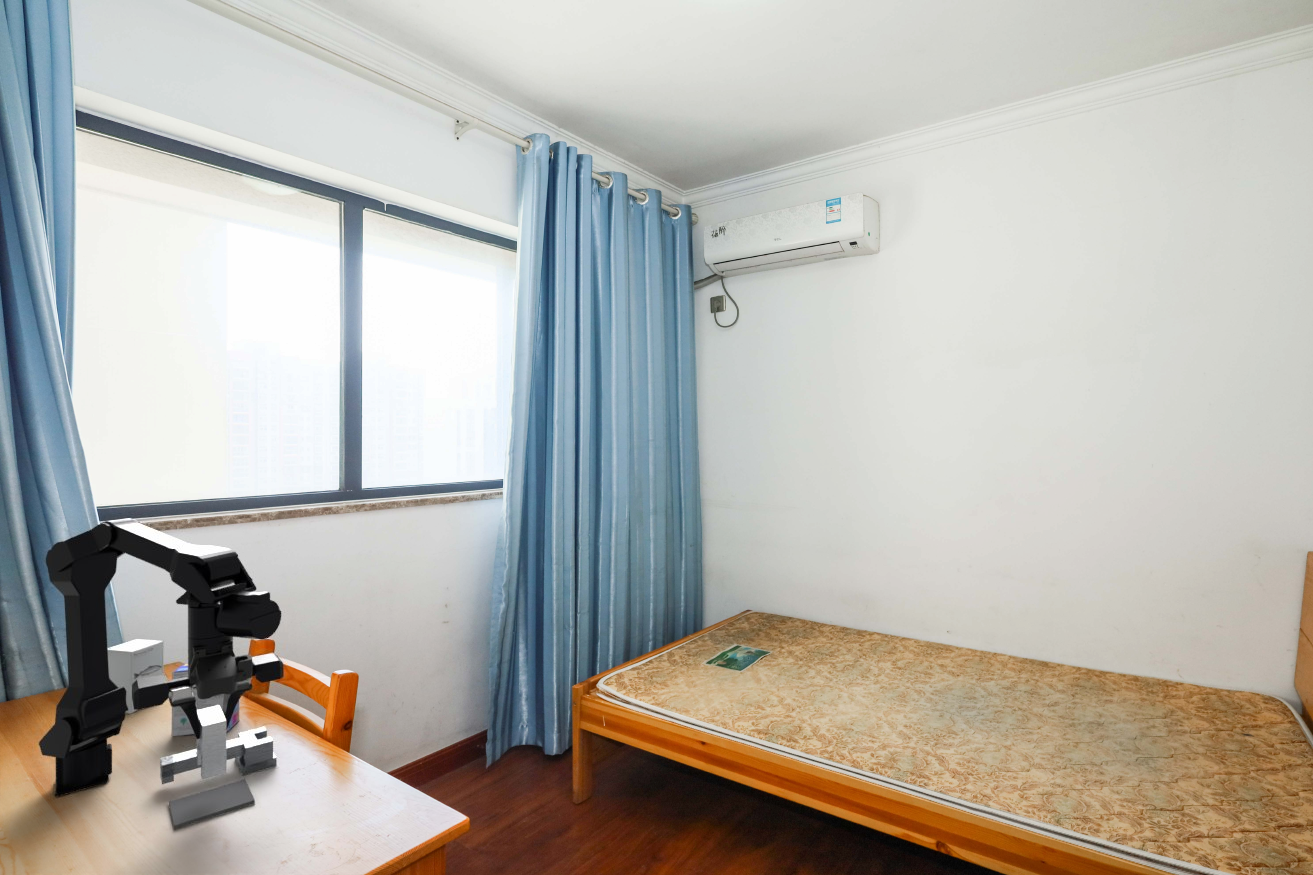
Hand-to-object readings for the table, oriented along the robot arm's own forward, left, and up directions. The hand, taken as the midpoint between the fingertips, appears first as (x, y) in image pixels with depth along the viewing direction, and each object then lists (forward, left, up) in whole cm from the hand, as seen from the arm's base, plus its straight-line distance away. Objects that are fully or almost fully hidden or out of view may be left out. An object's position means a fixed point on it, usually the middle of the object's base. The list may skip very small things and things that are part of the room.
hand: (211, 734), depth 101 cm
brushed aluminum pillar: (0, 0, -1) cm, 1 cm away
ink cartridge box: (+3, +31, -11) cm, 33 cm away
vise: (+2, +10, -11) cm, 15 cm away
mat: (0, 0, -11) cm, 11 cm away
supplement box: (-7, +53, -11) cm, 55 cm away
